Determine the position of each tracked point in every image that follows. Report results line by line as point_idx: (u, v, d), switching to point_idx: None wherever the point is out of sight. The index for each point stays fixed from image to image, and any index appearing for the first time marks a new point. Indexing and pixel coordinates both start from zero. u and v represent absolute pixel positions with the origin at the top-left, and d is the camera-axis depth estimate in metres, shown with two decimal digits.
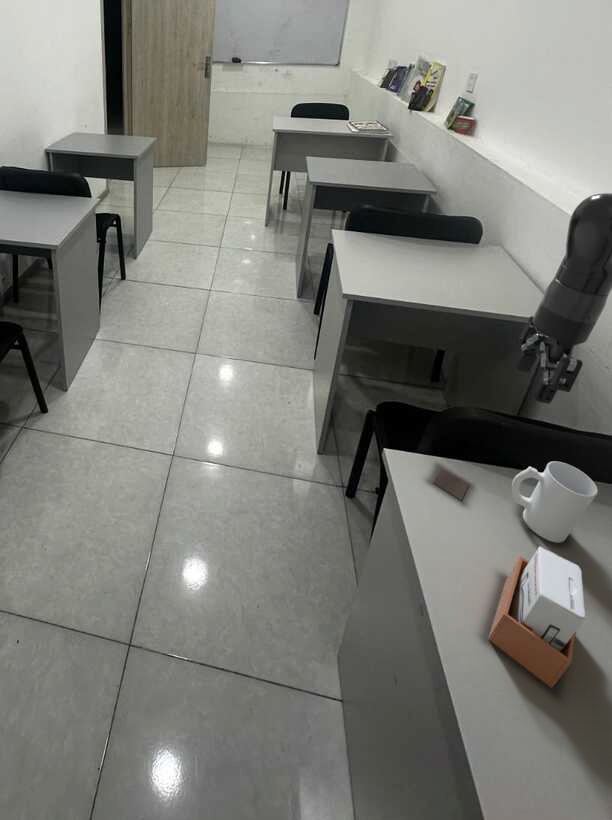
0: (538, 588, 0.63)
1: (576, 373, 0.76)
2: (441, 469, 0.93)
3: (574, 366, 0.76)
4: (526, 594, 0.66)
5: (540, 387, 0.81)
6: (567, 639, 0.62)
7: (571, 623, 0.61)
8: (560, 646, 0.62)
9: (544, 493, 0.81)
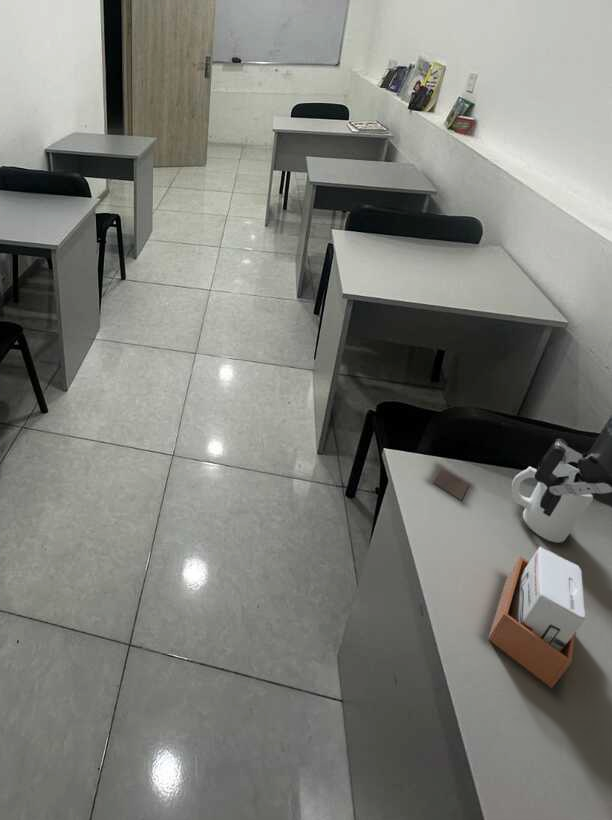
0: (539, 589, 0.63)
1: None
2: (441, 469, 0.93)
3: None
4: (526, 594, 0.66)
5: None
6: (567, 639, 0.62)
7: (571, 623, 0.61)
8: (560, 646, 0.62)
9: None
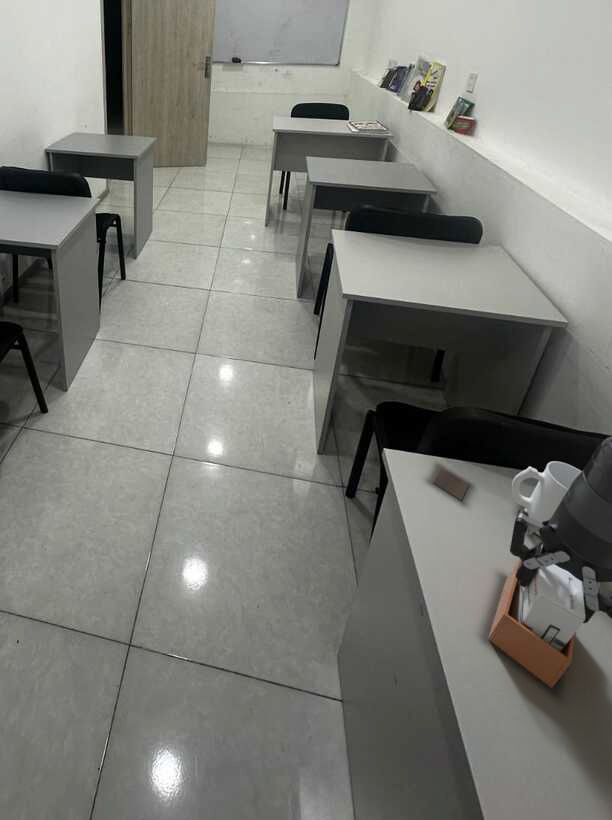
0: (538, 588, 0.63)
1: None
2: (441, 469, 0.93)
3: None
4: (526, 594, 0.66)
5: None
6: (567, 639, 0.62)
7: (571, 623, 0.61)
8: (560, 646, 0.62)
9: (544, 493, 0.81)
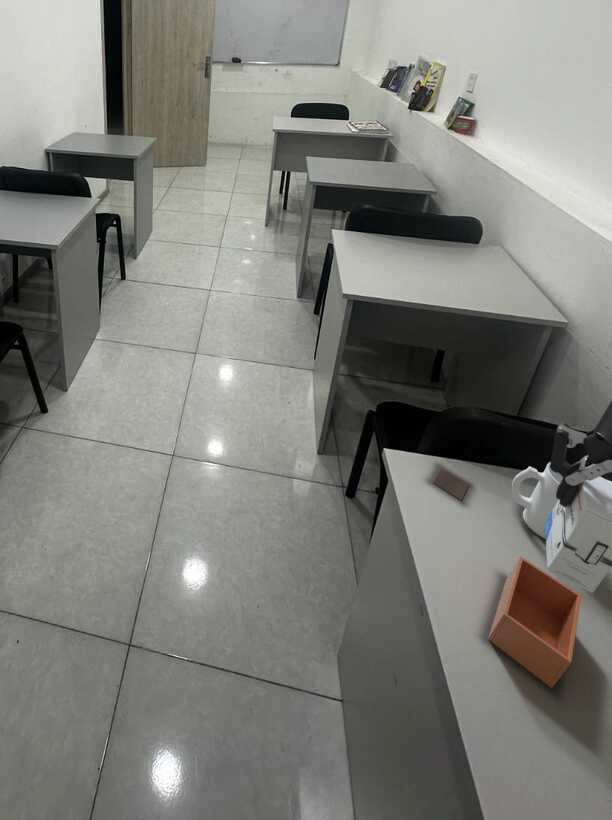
0: (584, 503, 0.58)
1: None
2: (441, 469, 0.93)
3: None
4: (569, 513, 0.61)
5: None
6: None
7: None
8: (608, 565, 0.57)
9: (544, 493, 0.81)
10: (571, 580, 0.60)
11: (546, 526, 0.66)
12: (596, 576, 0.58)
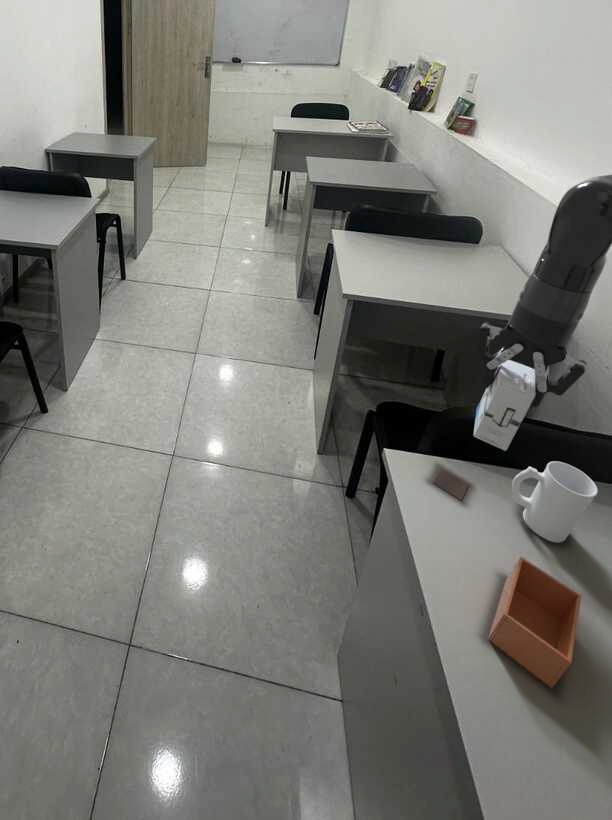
0: (498, 379, 0.75)
1: None
2: (441, 469, 0.93)
3: None
4: (489, 392, 0.78)
5: None
6: (521, 417, 0.74)
7: (524, 402, 0.73)
8: (516, 426, 0.75)
9: (544, 493, 0.81)
10: (490, 442, 0.78)
11: (476, 410, 0.84)
12: (508, 436, 0.76)
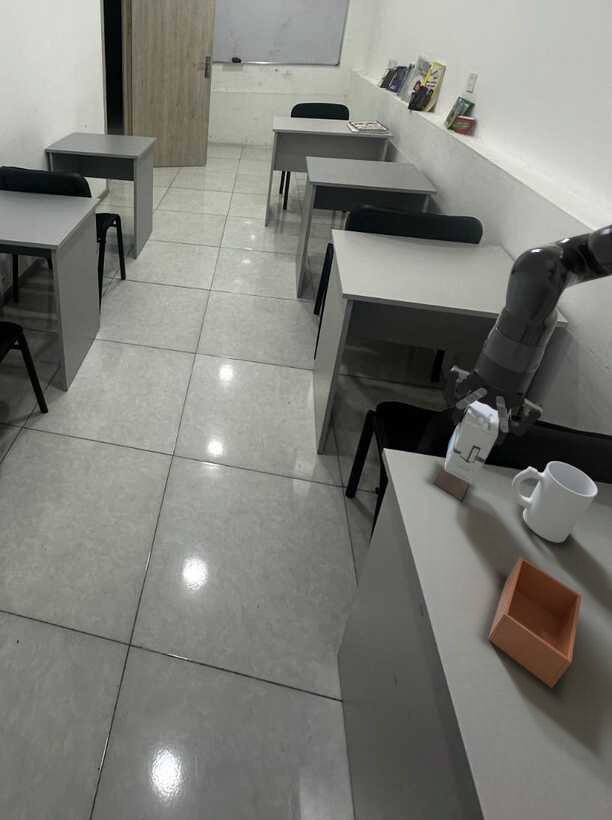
0: (465, 420, 0.82)
1: None
2: (441, 469, 0.93)
3: None
4: (458, 429, 0.85)
5: None
6: (485, 455, 0.81)
7: (488, 441, 0.80)
8: (481, 462, 0.82)
9: (544, 493, 0.81)
10: (459, 476, 0.85)
11: None
12: (474, 471, 0.83)
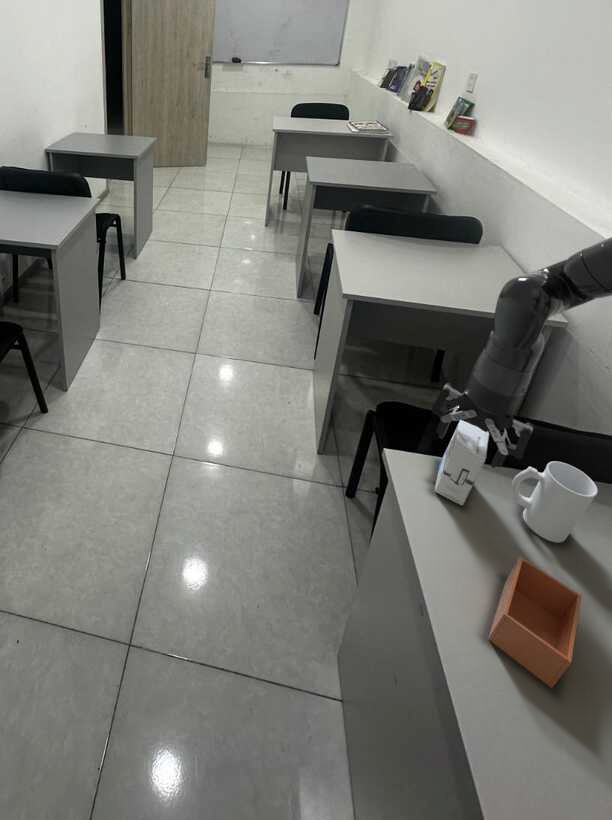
0: (454, 443, 0.85)
1: None
2: None
3: None
4: (448, 452, 0.88)
5: (497, 457, 0.83)
6: (474, 478, 0.83)
7: (476, 464, 0.82)
8: (470, 485, 0.84)
9: (544, 493, 0.81)
10: (449, 497, 0.87)
11: (439, 465, 0.93)
12: (463, 493, 0.85)
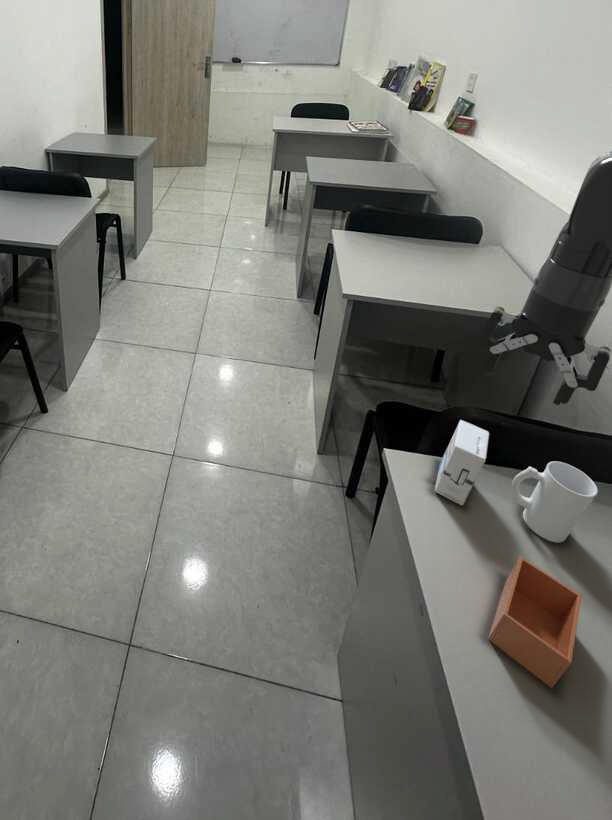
0: (455, 443, 0.85)
1: None
2: None
3: None
4: (448, 452, 0.88)
5: (562, 391, 0.68)
6: (474, 478, 0.83)
7: (476, 464, 0.82)
8: (470, 485, 0.84)
9: (544, 493, 0.81)
10: (449, 497, 0.87)
11: (439, 465, 0.93)
12: (463, 493, 0.85)
